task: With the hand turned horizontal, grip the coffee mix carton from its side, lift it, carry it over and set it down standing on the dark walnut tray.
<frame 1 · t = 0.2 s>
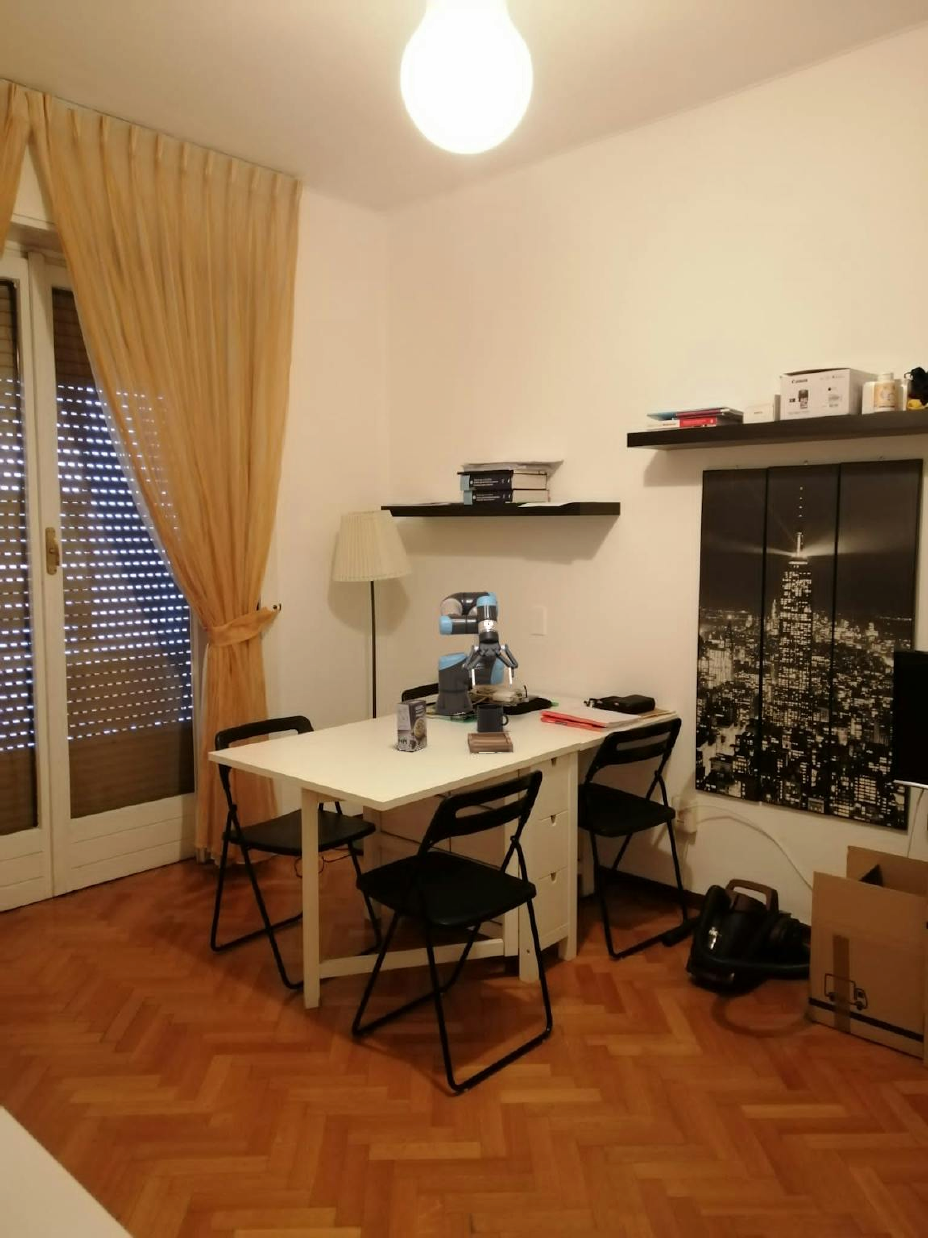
hand: (492, 686, 332), 15 cm above the table, tool tilted 35°, fingers open, 13 cm apart
mug: (493, 732, 328), on the table
coffee box: (412, 749, 307), on the table
tray: (489, 746, 307), on the table
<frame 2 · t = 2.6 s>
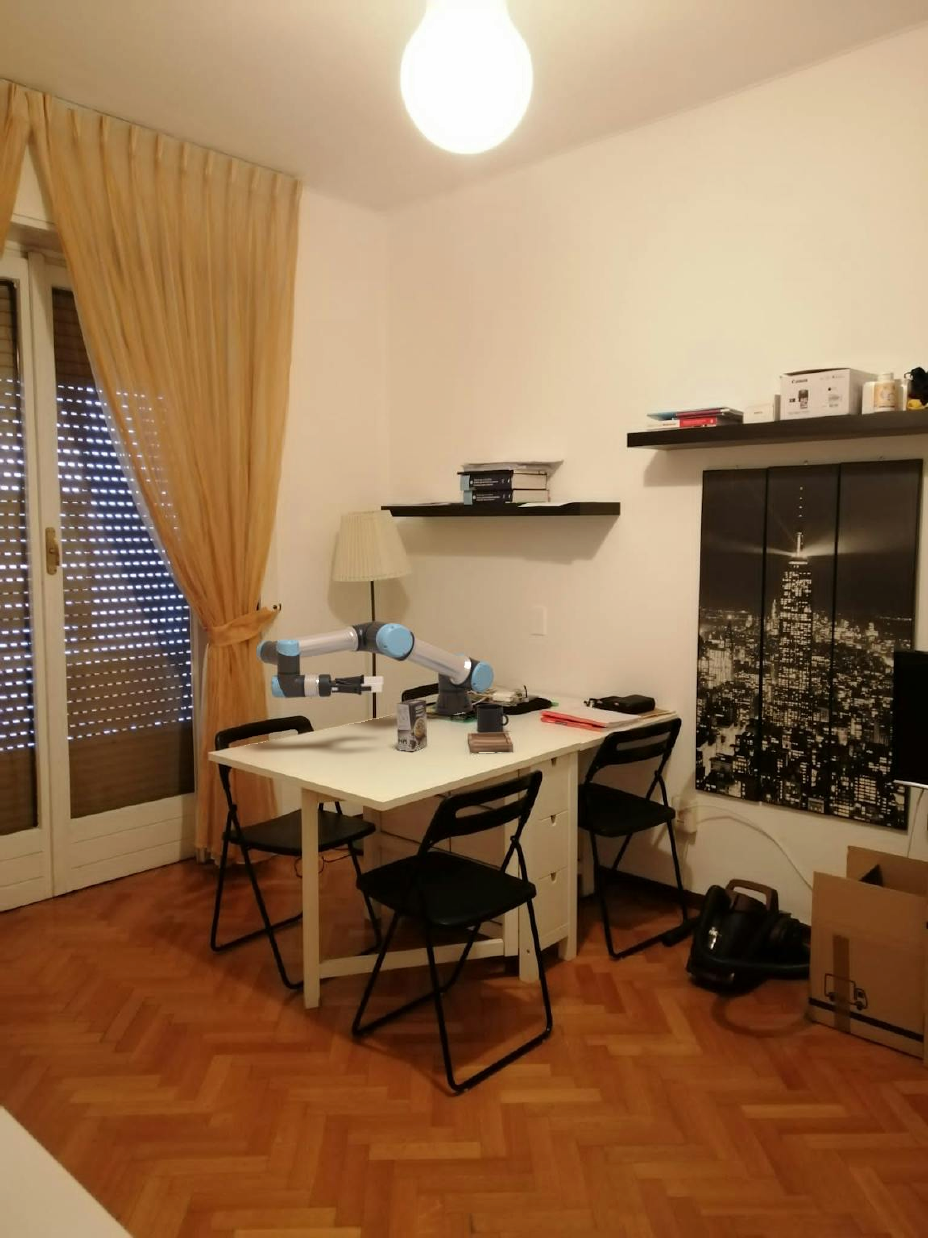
hand: (382, 684, 303), 22 cm above the table, tool horizontal, fingers open, 13 cm apart
nothing on the table moved.
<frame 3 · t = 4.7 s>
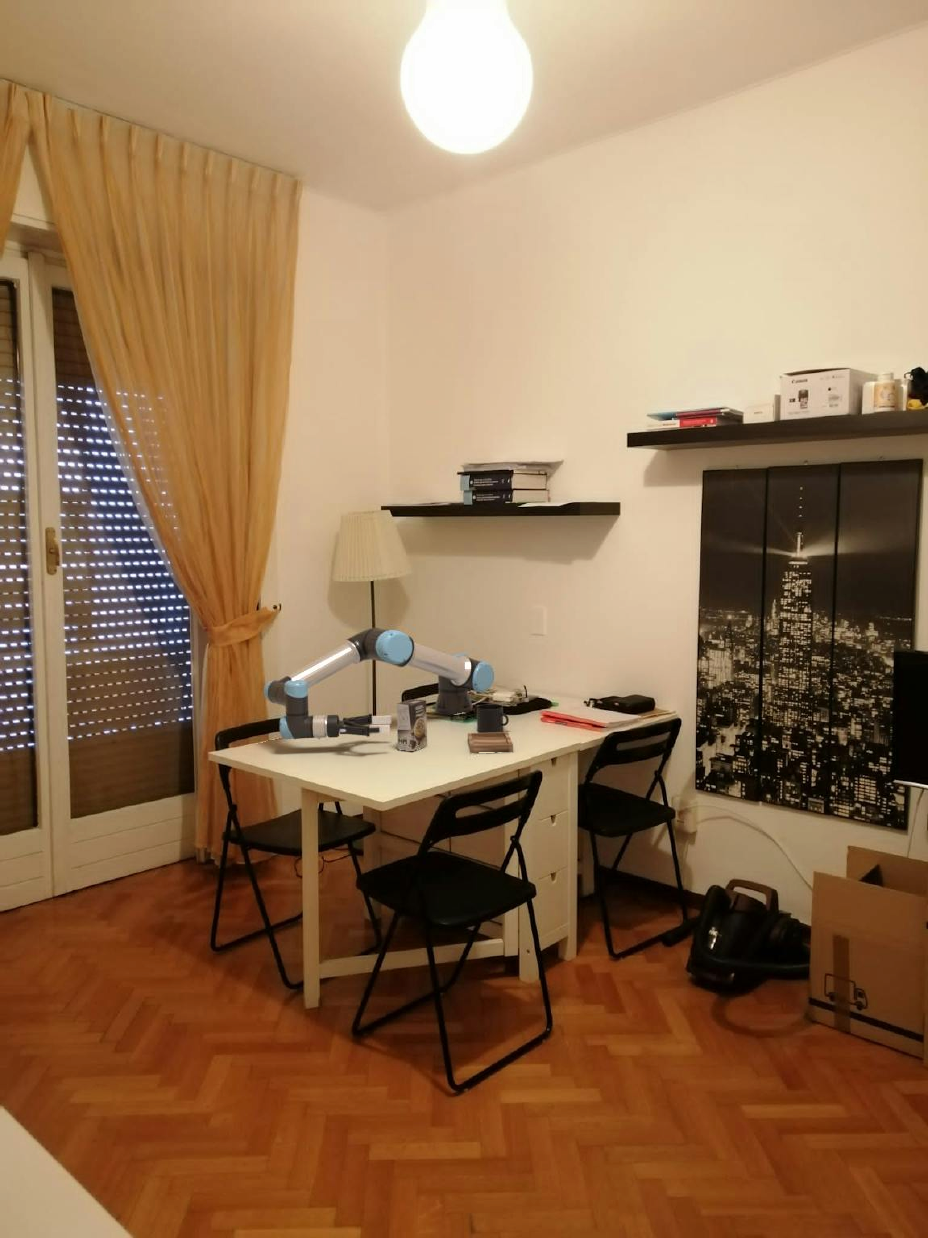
hand: (390, 724, 305), 9 cm above the table, tool horizontal, fingers open, 13 cm apart
nothing on the table moved.
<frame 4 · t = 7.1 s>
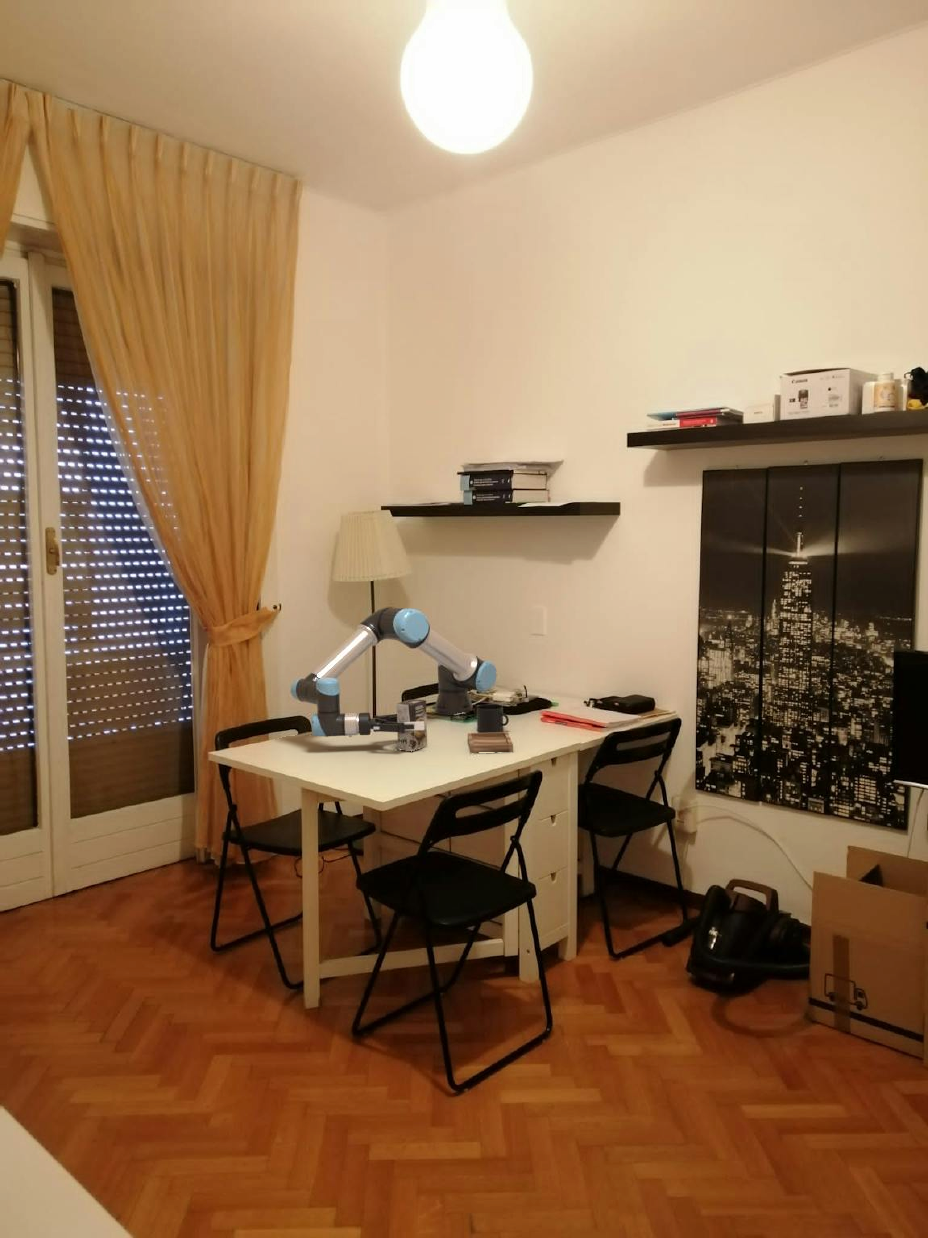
hand: (424, 721, 306), 9 cm above the table, tool horizontal, fingers closed on coffee box, 10 cm apart
coffee box: (412, 749, 306), on the table, touching gripper
everything else where it was.
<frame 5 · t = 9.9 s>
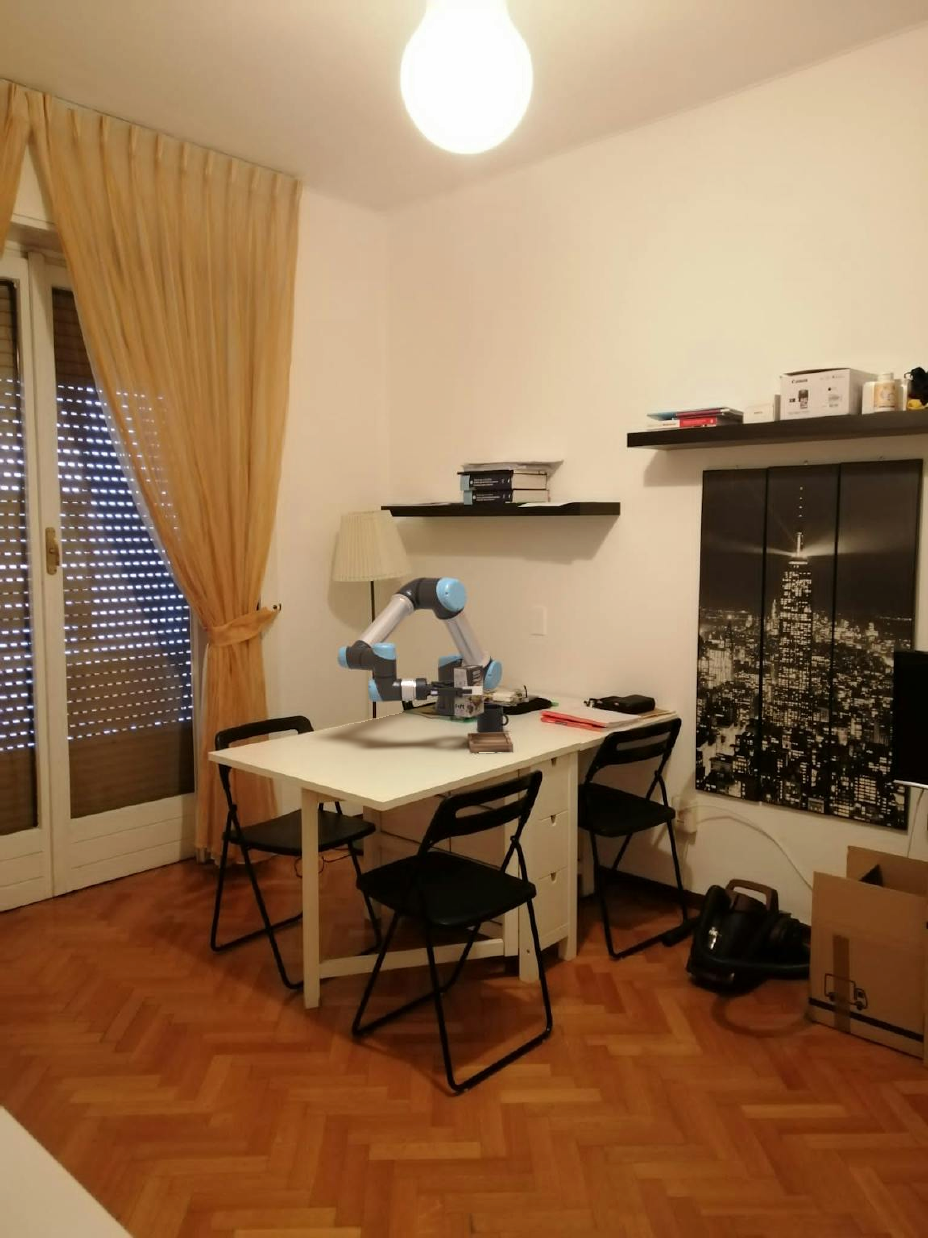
hand: (481, 687, 303), 21 cm above the table, tool horizontal, fingers closed on coffee box, 10 cm apart
coffee box: (469, 714, 304), point 11 cm above the table, touching gripper
everything else where it was.
when the fingers open (12 cm above the table, at t = 12.7 s): coffee box drops 2 cm, resting on tray.
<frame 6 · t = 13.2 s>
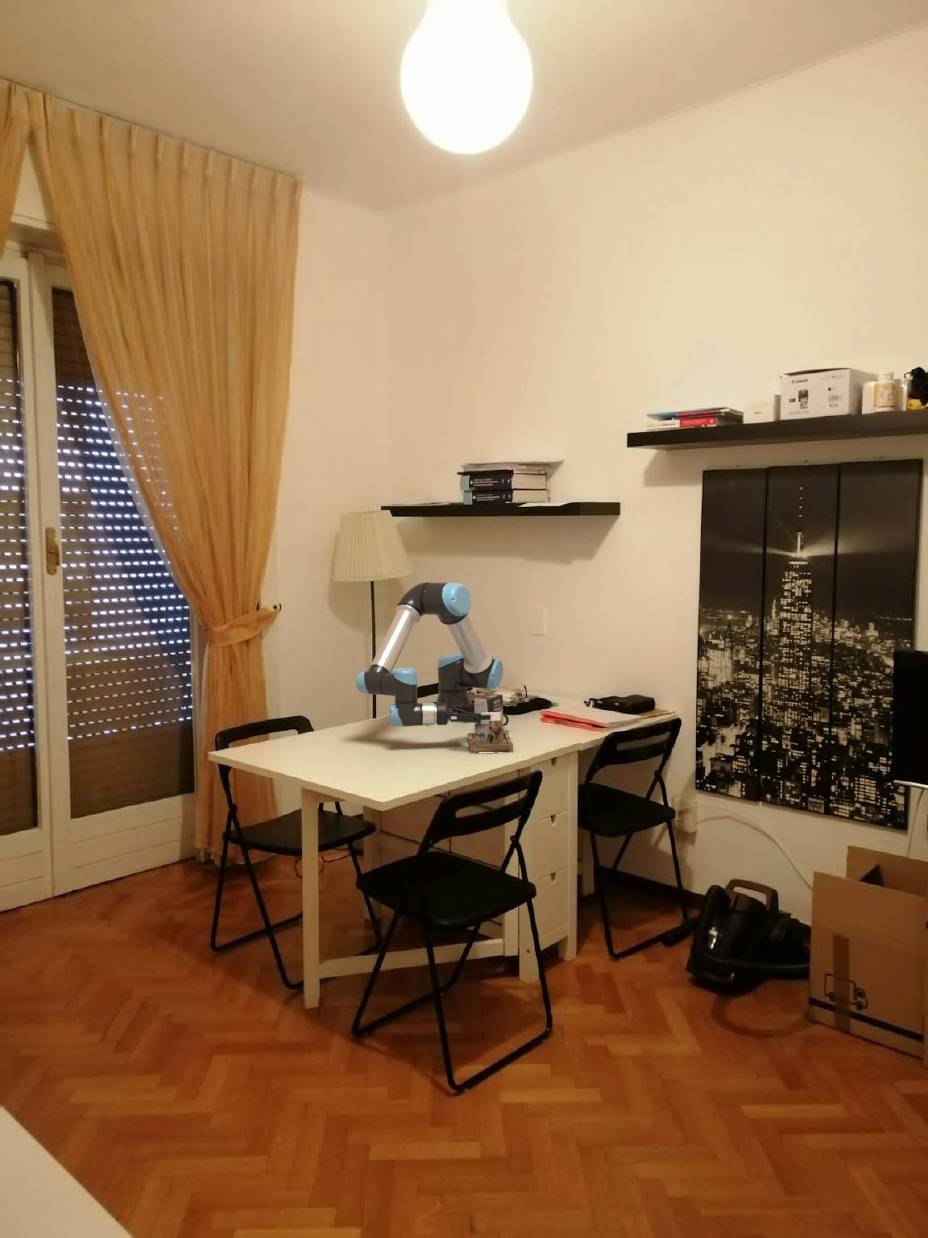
hand: (498, 711, 306), 12 cm above the table, tool horizontal, fingers open, 13 cm apart
coffee box: (489, 743, 307), point 1 cm above the table, touching tray
everything else where it was.
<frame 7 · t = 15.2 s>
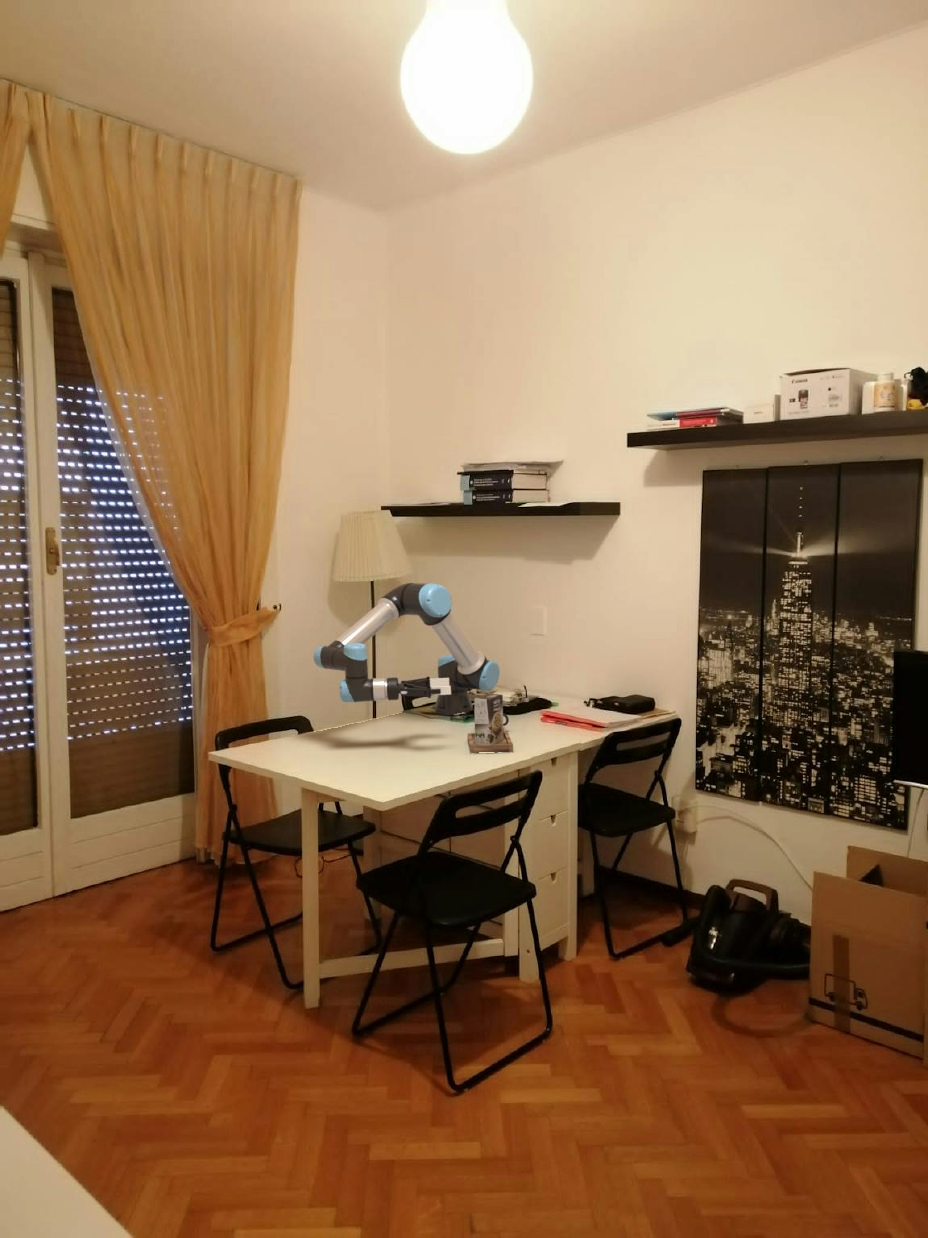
hand: (450, 685, 305), 21 cm above the table, tool horizontal, fingers open, 13 cm apart
nothing on the table moved.
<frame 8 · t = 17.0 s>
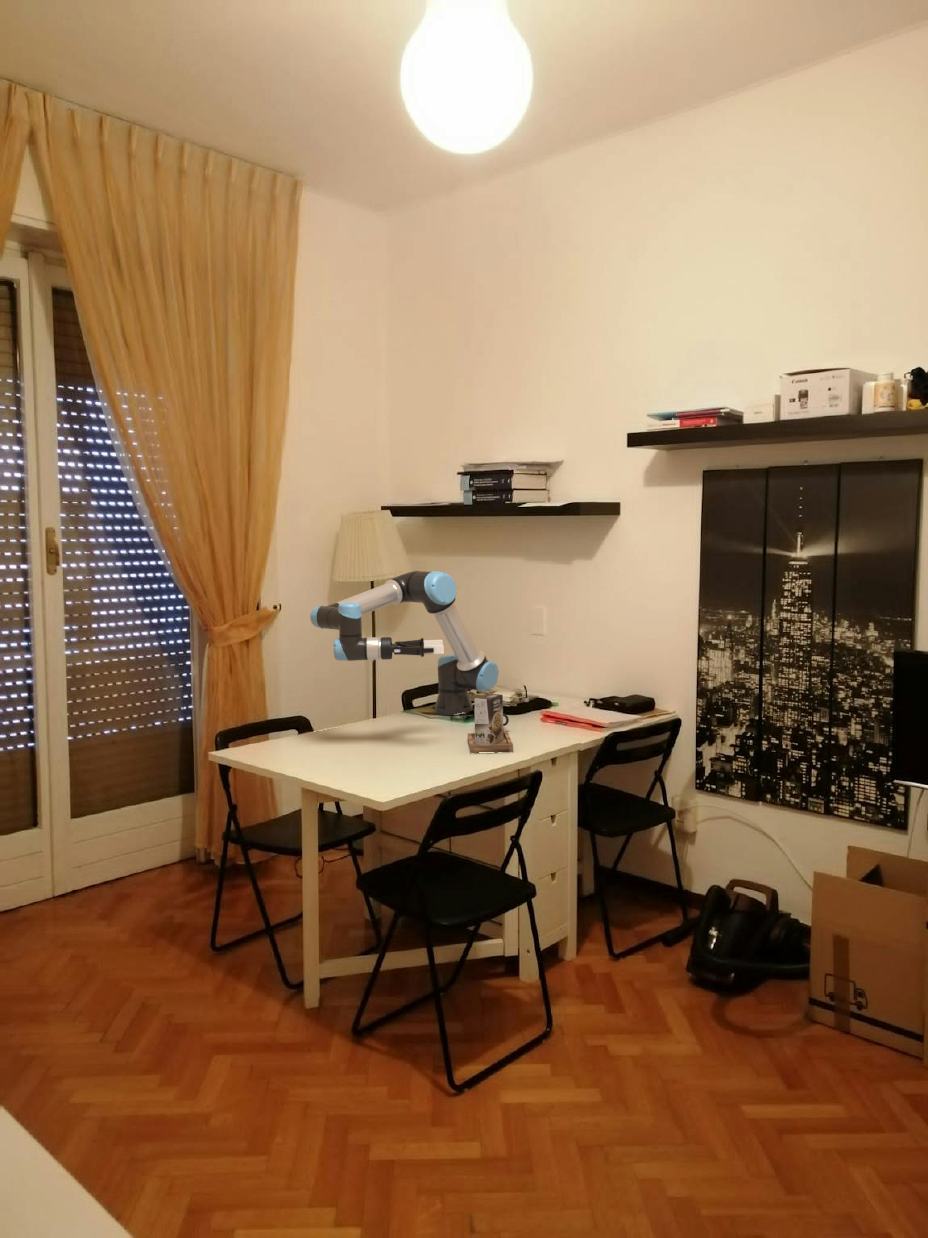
hand: (443, 646, 306), 34 cm above the table, tool horizontal, fingers open, 13 cm apart
nothing on the table moved.
at the end: coffee box 0.2 cm from the tray (horizontally); coffee box tilted 0°; the gripper is holding nothing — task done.
